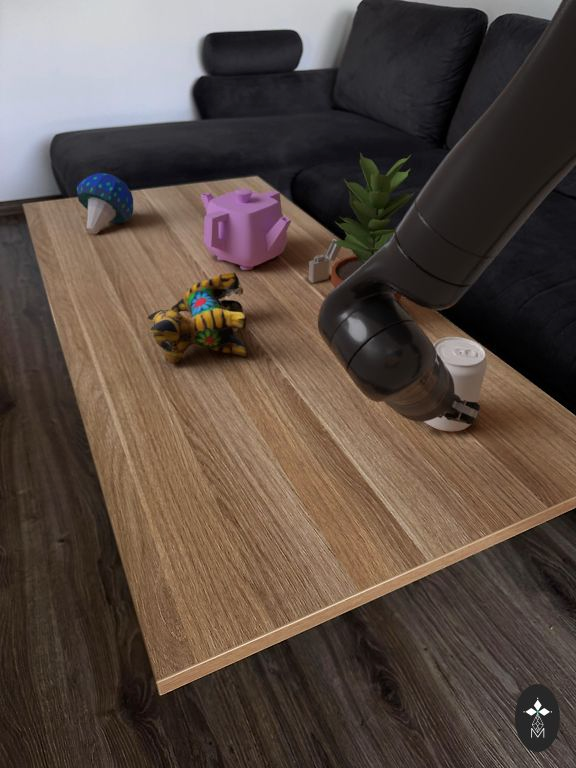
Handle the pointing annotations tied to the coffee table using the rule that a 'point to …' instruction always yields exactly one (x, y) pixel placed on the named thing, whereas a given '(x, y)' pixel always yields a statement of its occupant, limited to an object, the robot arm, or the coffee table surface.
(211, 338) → the striped cat figurine
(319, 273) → the lighter
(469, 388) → the beverage can
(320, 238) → the coffee table surface
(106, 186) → the mushroom
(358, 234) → the potted plant
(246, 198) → the teapot
